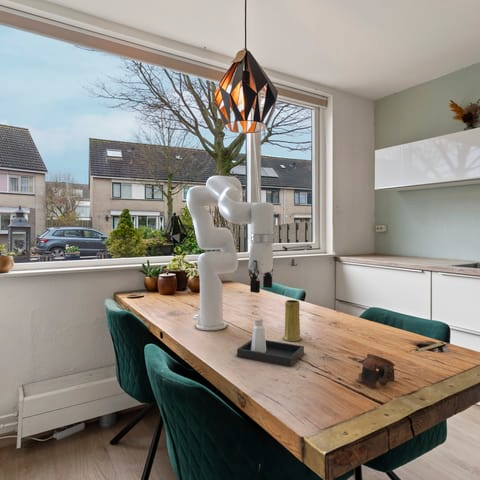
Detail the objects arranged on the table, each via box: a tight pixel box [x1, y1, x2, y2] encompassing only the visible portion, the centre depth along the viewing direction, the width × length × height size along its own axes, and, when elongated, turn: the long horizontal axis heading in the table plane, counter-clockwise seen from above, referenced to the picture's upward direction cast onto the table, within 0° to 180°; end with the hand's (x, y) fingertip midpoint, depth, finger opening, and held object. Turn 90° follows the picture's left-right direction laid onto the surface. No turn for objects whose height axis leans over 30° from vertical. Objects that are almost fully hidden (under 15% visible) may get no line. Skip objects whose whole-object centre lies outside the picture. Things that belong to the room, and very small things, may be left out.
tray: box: [236, 339, 305, 367], centre depth 119 cm, size 19×13×2 cm
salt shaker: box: [251, 317, 266, 353], centre depth 121 cm, size 5×5×11 cm
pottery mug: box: [357, 353, 395, 389], centre depth 98 cm, size 12×10×8 cm
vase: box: [283, 299, 301, 342], centre depth 135 cm, size 6×6×14 cm
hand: (261, 289), depth 122 cm, fingers open, 9 cm apart
